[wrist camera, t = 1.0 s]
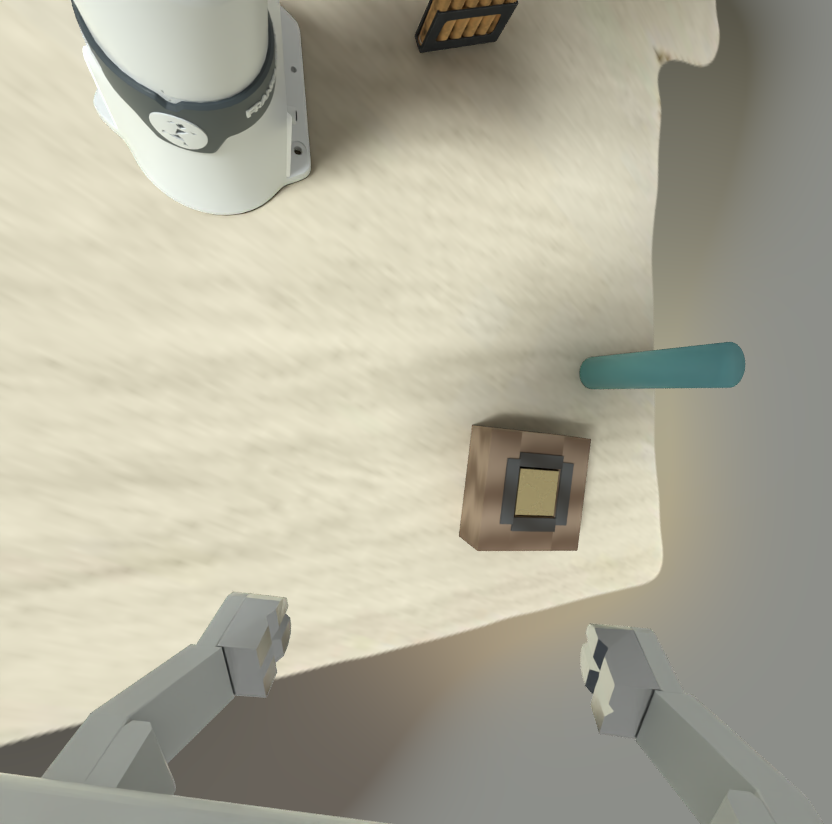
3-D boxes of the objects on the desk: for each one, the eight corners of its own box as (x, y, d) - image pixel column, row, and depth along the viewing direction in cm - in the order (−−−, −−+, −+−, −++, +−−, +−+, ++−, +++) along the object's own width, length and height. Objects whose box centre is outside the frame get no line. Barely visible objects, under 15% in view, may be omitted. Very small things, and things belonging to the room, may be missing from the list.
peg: (581, 354, 55) (716, 338, 38) (606, 359, 57) (747, 345, 40) (577, 386, 55) (710, 384, 38) (603, 390, 57) (742, 390, 40)
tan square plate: (515, 467, 48) (520, 468, 47) (553, 470, 50) (558, 471, 49) (510, 512, 48) (515, 514, 47) (548, 513, 50) (553, 515, 49)
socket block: (472, 425, 50) (493, 428, 45) (564, 435, 55) (592, 439, 50) (458, 536, 50) (478, 551, 45) (551, 536, 55) (578, 551, 50)
